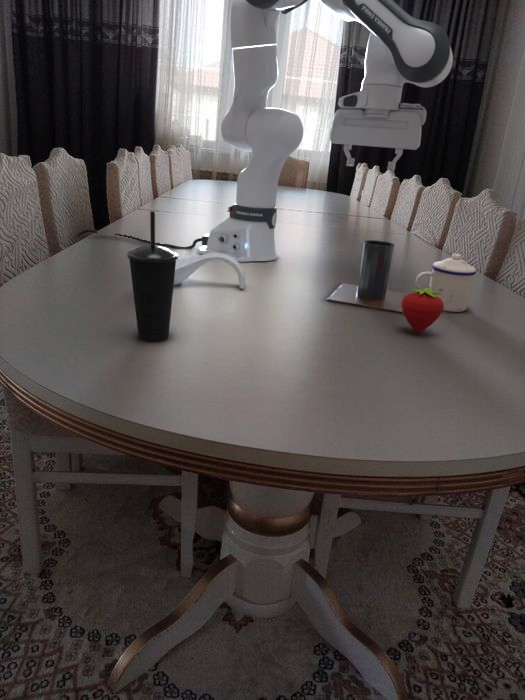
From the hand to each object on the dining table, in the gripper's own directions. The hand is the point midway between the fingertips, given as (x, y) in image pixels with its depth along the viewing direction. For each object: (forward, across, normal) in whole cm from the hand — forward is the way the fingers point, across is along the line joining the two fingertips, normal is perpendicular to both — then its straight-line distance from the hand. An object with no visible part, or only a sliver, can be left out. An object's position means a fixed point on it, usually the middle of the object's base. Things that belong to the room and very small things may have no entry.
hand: (370, 168), depth 119 cm
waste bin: (+27, -6, +12) cm, 30 cm away
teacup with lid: (+27, -21, +9) cm, 36 cm away
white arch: (+27, +32, +25) cm, 49 cm away
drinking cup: (+27, +22, +58) cm, 68 cm away
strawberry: (+27, -18, +31) cm, 45 cm away
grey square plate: (+27, -6, +12) cm, 30 cm away
